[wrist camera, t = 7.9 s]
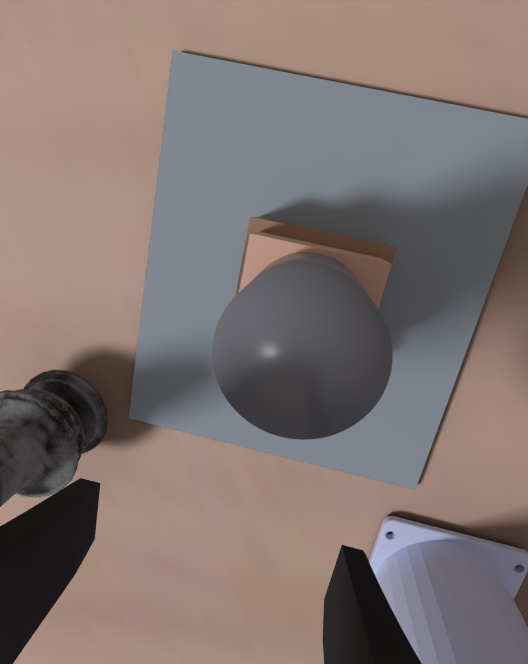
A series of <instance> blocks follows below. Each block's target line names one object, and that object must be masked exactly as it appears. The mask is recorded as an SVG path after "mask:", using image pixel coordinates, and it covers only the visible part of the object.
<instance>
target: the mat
mask: <svg viewBox="0 0 528 664" xmlns="http://www.w3.org/2000/svg"><path fill="white" fill-rule="evenodd" d="M527 186H528V119H526V118H521V117H516V116H511V115H506V114H500V113H495V112H490V111H485V110H480V109H474V108H469V107H464V106H459V105H454V104H448V103H443V102H438V101H433V100H428V99H422V98H417V97H412V96H407V95H402V94H396V93H391V92H386V91H381V90H375V89H370V88H365V87H360V86H355V85H349V84H344V83H339V82H334V81H329V80H323V79H318V78H313V77H308V76H303V75H297V74H292V73H287V72H282V71H277V70H271V69H266V68H261V67H256V66H251V65H245V64H240V63H235V62H230V61H225V60H219V59H214V58H209V57H204V56H198V55H193V54H188V53H183V52H178V51H173V53H172V61H171V69H170V77H169V86H168V94H167V102H166V111H165V119H164V127H163V135H162V144H161V152H160V160H159V169H158V177H157V185H156V193H155V202H154V210H153V218H152V226H151V235H150V243H149V251H148V260H147V268H146V276H145V284H144V293H143V301H142V309H141V318H140V326H139V334H138V342H137V351H136V359H135V367H134V376H133V384H132V392H131V400H130V409H129V417H128V418H129V419H133V420H137V421H141V422H145V423H149V424H153V425H157V426H161V427H165V428H169V429H173V430H177V431H181V432H185V433H189V434H193V435H197V436H201V437H205V438H209V439H213V440H217V441H221V442H225V443H229V444H233V445H237V446H241V447H245V448H249V449H253V450H257V451H261V452H265V453H269V454H273V455H277V456H281V457H285V458H289V459H293V460H297V461H301V462H305V463H309V464H313V465H317V466H321V467H325V468H329V469H333V470H337V471H341V472H345V473H349V474H353V475H357V476H361V477H365V478H368V479H372V480H376V481H380V482H384V483H388V484H392V485H396V486H400V487H404V488H408V489H412V490H415V489H416V487H417V484H418V481H419V479H420V476H421V473H422V470H423V468H424V465H425V462H426V460H427V457H428V454H429V451H430V449H431V446H432V443H433V441H434V438H435V435H436V432H437V430H438V427H439V424H440V422H441V419H442V416H443V414H444V411H445V408H446V405H447V403H448V400H449V397H450V395H451V392H452V389H453V386H454V384H455V381H456V378H457V376H458V373H459V370H460V367H461V365H462V362H463V359H464V357H465V354H466V351H467V348H468V346H469V343H470V340H471V338H472V335H473V332H474V329H475V327H476V324H477V321H478V319H479V316H480V313H481V310H482V308H483V305H484V302H485V300H486V297H487V294H488V291H489V289H490V286H491V283H492V281H493V278H494V275H495V272H496V270H497V267H498V264H499V262H500V259H501V256H502V253H503V251H504V248H505V245H506V243H507V240H508V237H509V234H510V232H511V229H512V226H513V224H514V221H515V218H516V215H517V213H518V210H519V207H520V205H521V202H522V199H523V196H524V194H525V191H526V188H527ZM250 217H261V218H265V219H270V220H275V221H279V222H284V223H289V224H293V225H298V226H303V227H307V228H312V229H317V230H321V231H326V232H331V233H335V234H340V235H345V236H349V237H354V238H359V239H363V240H368V241H373V242H377V243H382V244H386V245H389V246H392V247H395V248H397V250H396V253H395V257H394V260H393V263H392V267H391V270H390V274H389V277H388V280H387V284H386V287H385V291H384V294H383V297H382V301H381V304H380V308H379V311H380V313H381V314H382V316H383V318H384V320H385V322H386V324H387V327H388V330H389V333H390V337H391V343H392V350H393V361H392V370H391V374H390V378H389V382H388V384H387V386H386V389H385V391H384V393H383V395H382V397H381V398H380V400H379V402H378V403H377V404H376V405H375V407H374V408H373V409H372V410H371V412H369V413H368V414H367V415H366V416H365V417H364V418H363V419H362V420H361V421H359V422H358V423H356V424H355V425H354V426H352V427H350V428H348V429H346V430H345V431H342V432H340V433H337V434H335V435H332V436H328V437H324V438H318V439H309V440H298V439H289V438H284V437H279V436H276V435H273V434H270V433H267V432H265V431H263V430H261V429H259V428H257V427H256V426H254V425H252V424H251V423H249V422H248V421H247V420H245V419H244V418H243V417H242V416H240V415H239V414H238V413H237V412H236V410H235V409H234V408H233V407H232V406H231V405H230V403H229V402H228V401H227V399H226V398H225V396H224V394H223V393H222V391H221V389H220V387H219V384H218V382H217V380H216V376H215V372H214V368H213V361H212V345H213V338H214V334H215V330H216V326H217V324H218V322H219V319H220V317H221V315H222V313H223V312H224V310H225V308H226V307H227V305H228V304H229V303H230V302H231V300H232V299H233V298H234V297H235V295H236V289H237V284H238V279H239V273H240V268H241V263H242V257H243V252H244V247H245V241H246V236H247V231H248V225H249V220H250Z"/></svg>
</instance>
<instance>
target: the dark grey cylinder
mask: <svg viewBox="0 0 528 664" xmlns="http://www.w3.org/2000/svg"><path fill="white" fill-rule="evenodd" d="M212 361H213V368H214V372H215V376H216V380H217V382H218V384H219V387H220V389H221V391H222V393H223V394H224V396H225V398H226V399H227V401H228V402H229V403H230V405H231V406H232V407H233V408H234V409H235V410H236V412H237V413H238V414H239V415H240V416H242V417H243V418H244V419H245V420H247V421H248V422H249V423H251V424H252V425H254V426H256V427H257V428H259V429H261V430H263V431H265V432H267V433H270V434H273V435H276V436H279V437H284V438H289V439H298V440H309V439H318V438H324V437H328V436H332V435H335V434H337V433H340V432H342V431H345V430H346V429H348V428H350V427H352V426H354V425H355V424H356V423H358V422H359V421H361V420H362V419H363V418H364V417H365V416H366V415H367V414H368V413H369V412H371V410H372V409H373V408H374V407H375V405H376V404H377V403H378V402H379V400H380V398H381V397H382V395H383V393H384V391H385V389H386V386H387V384H388V382H389V378H390V374H391V370H392V361H393V350H392V343H391V337H390V333H389V330H388V327H387V324H386V322H385V320H384V318H383V316H382V314H381V313H380V311H379V310H378V308H377V307H376V305H375V304H374V302H373V301H372V300H371V298H370V297H369V295H368V294H367V293H366V291H365V290H364V288H363V287H362V285H361V284H360V283H359V281H358V280H357V278H356V277H355V276H354V275H353V273H352V272H351V271H350V270H349V269H348V268H347V267H345V266H344V265H343V264H341V263H340V262H338V261H337V260H335V259H333V258H331V257H328V256H325V255H322V254H317V253H308V252H303V253H294V254H290V255H287V256H284V257H281V258H279V259H277V260H275V261H273V262H272V263H271V264H269V265H268V266H266V267H265V268H264V269H263V270H262V271H261V272H260V273H259V274H258V275H257V276H256V277H255V278H254V279H253V280H252V281H251V282H250V283H248V284H247V285H246V286H245V287H244V288H243V289H242V290H241V291H240V292H239V293H238V294H237V295H236V296H235V297H234V298H233V299H232V300H231V302H230V303H229V304H228V305H227V307H226V308H225V310H224V312H223V313H222V315H221V317H220V319H219V322H218V324H217V326H216V330H215V334H214V338H213V345H212Z"/></svg>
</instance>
